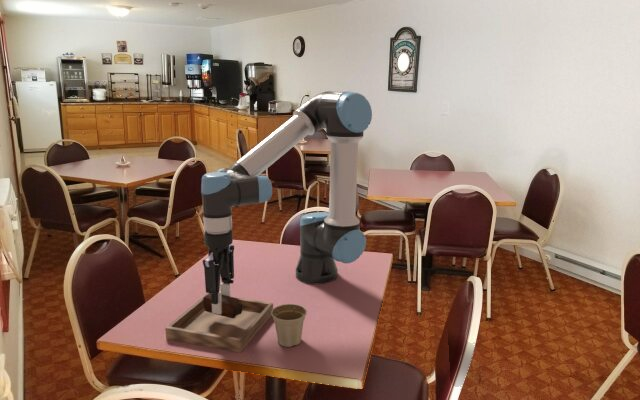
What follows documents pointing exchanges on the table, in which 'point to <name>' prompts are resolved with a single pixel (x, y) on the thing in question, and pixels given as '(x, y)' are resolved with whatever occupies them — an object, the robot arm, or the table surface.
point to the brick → (224, 306)
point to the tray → (220, 326)
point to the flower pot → (289, 323)
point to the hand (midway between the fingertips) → (221, 308)
